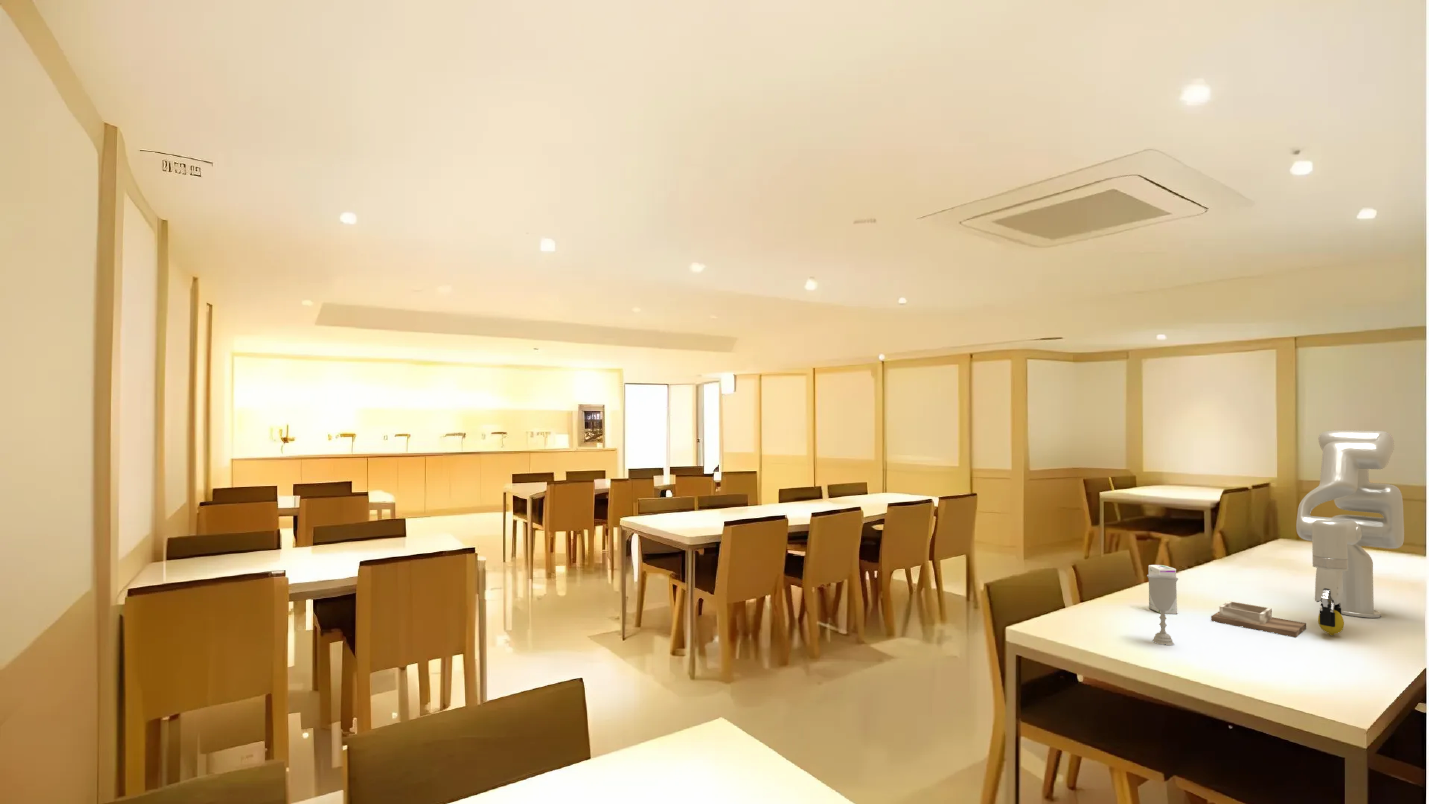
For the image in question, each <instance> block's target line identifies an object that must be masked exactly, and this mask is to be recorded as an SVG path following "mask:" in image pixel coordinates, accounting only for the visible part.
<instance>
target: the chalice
mask: <svg viewBox="0 0 1429 804" xmlns="http://www.w3.org/2000/svg"><path fill="white" fill-rule="evenodd" d="M1146 577H1147V578H1148V594H1149V593H1150V596H1151V598H1152V601H1153V603H1154V604H1155V606H1156V608H1157V609H1158V610H1160V611H1161V613H1160V616H1159V619H1160V622H1159V624H1158V625H1159V627H1160V630H1159V632H1156V633H1155V634H1154V636H1153V639H1152V640H1151V641H1152V642H1153V641H1154V642H1153V643H1155V642H1156V643H1155V644H1157V643H1158V645H1161V644H1166V645H1165V646H1173V645H1172V644H1174V645H1175V643H1174V641H1173V639H1172V636H1171V635H1170V634H1169V633H1167V631H1166V627H1167V623H1166V620H1167V617H1166V614H1165V611H1168V610H1169V609H1170V608H1171V606H1172V604H1173V603H1174V601H1175V598H1176V590H1177V582H1178V580H1179V578H1178V577H1177V576H1176V577H1173V576H1168V575H1160V574H1149V573H1148V574H1147V575H1146Z"/></svg>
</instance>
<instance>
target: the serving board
mask: <svg viewBox="0 0 1429 804" xmlns="http://www.w3.org/2000/svg"><path fill="white" fill-rule="evenodd" d="M1218 607H1219V611H1217V612H1216V613H1214V614H1212V615H1211V616H1210V619H1211V620H1210V622H1214V621H1215V623H1220V624H1225V623H1226V624H1225V625H1230V626H1236V627H1240V626H1243V627H1242V628H1245V627H1246V629H1250V628H1251V629H1250V630H1255V629H1258V630H1257V631H1260V630H1263V631H1262V632H1266V631H1267V633H1271V632H1274V633H1273V634H1276V633H1278V634H1277V635H1282V636H1286V635H1288V636H1287V637H1293V638H1297V637H1298V636H1299V635H1300V634H1302V633H1303V632H1304V631H1305V630H1306V629H1307V623H1306V622H1300V621H1296V620H1291V619H1286V618H1285V619H1283V618H1279V617H1274V616H1273V615H1272V614H1273V608H1271V607H1265V606H1260V605H1253V604H1250V603H1249V604H1248V603H1243V602H1237V601H1233V600H1232V601H1230V600H1229V601H1227V602H1225V603H1223V604H1221V605H1220V606H1218Z"/></svg>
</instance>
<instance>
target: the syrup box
mask: <svg viewBox="0 0 1429 804" xmlns="http://www.w3.org/2000/svg"><path fill="white" fill-rule="evenodd" d="M1149 574H1160V575H1168V576H1173V577H1176V578H1177V569H1176V568H1174V567H1172V566H1168V565H1166V564H1165V565H1164V564H1149V565H1148V575H1149ZM1177 592H1178V591H1177V589H1176V598H1175V601H1174V603H1173V604H1172V606H1171V608H1170V609H1169V610H1168V611H1165V615H1177V614H1178V602H1177V601H1178V600H1177V597H1178V596H1177V595H1178V593H1177ZM1148 606H1149V607H1148V609H1149V610H1151V611H1153V612H1155V613H1158V614H1161V611H1160V610H1158V609H1157V608H1156V606H1155V604H1154V603H1153V601H1152V598H1151V596H1150V593H1149V592H1148Z"/></svg>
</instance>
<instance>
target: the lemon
mask: <svg viewBox="0 0 1429 804" xmlns="http://www.w3.org/2000/svg"><path fill="white" fill-rule="evenodd" d="M1334 613H1335V627H1330V626H1325V625H1321V624H1320V612H1319V613H1318V617H1317V622H1318V625H1319V627H1320V629H1321V630H1322V631H1324V632H1326V633H1327V634H1328V635H1329V636H1331V635H1332V636H1335V635H1336V634H1339V633H1341V632H1342V631H1343V630H1344V628H1345V627H1344V626H1345V621H1344V618H1343V614H1340V613H1339V612H1338V611H1336V610H1334Z"/></svg>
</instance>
